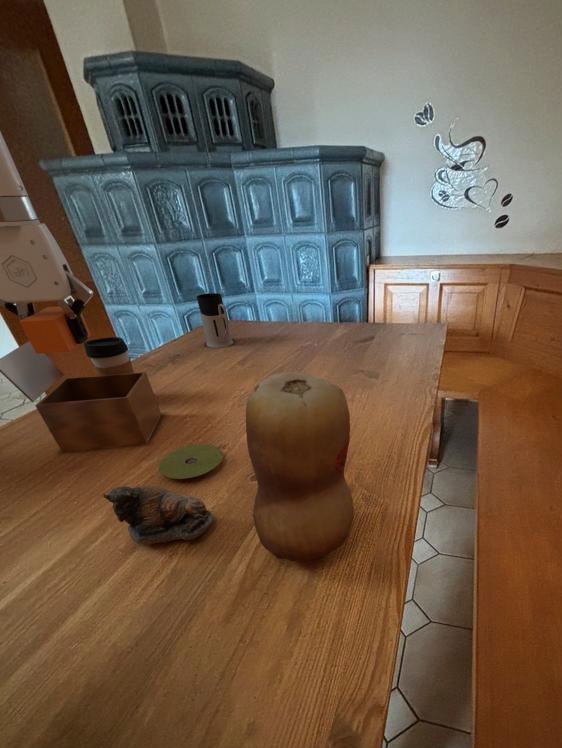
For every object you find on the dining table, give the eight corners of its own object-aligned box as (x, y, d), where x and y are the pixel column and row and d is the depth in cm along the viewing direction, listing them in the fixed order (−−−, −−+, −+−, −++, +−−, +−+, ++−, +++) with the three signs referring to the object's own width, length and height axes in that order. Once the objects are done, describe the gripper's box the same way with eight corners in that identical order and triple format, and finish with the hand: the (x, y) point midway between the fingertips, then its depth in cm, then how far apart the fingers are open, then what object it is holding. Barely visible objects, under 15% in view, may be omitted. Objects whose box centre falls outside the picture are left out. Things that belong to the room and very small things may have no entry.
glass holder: (226, 338, 135) (215, 291, 125) (246, 347, 126) (236, 298, 117) (202, 343, 130) (189, 295, 121) (221, 354, 122) (209, 303, 112)
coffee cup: (102, 403, 94) (74, 342, 85) (135, 391, 100) (111, 332, 91) (120, 412, 90) (93, 348, 81) (153, 399, 96) (131, 338, 87)
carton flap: (33, 401, 70) (32, 402, 70) (64, 374, 80) (62, 375, 80) (-7, 363, 65) (-9, 364, 65) (31, 339, 75) (29, 340, 75)
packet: (36, 353, 62) (19, 321, 59) (61, 336, 69) (47, 307, 66) (69, 351, 62) (54, 319, 59) (91, 335, 69) (78, 305, 66)
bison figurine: (215, 512, 62) (198, 461, 56) (216, 543, 57) (197, 490, 50) (134, 529, 59) (107, 477, 53) (127, 563, 54) (96, 510, 48)
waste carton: (62, 453, 77) (34, 405, 70) (87, 422, 87) (65, 377, 80) (147, 445, 79) (127, 397, 72) (161, 415, 89) (145, 372, 82)
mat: (227, 449, 77) (225, 440, 76) (221, 482, 68) (219, 474, 67) (169, 455, 76) (166, 446, 74) (155, 490, 67) (151, 481, 66)
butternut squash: (343, 587, 50) (333, 416, 35) (247, 573, 52) (197, 406, 37) (361, 515, 61) (360, 361, 46) (281, 506, 63) (254, 356, 48)
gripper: (-84, 215, 50) (-3, 353, 61) (56, 213, 52) (110, 346, 63) (-46, 212, 56) (22, 338, 67) (79, 210, 58) (124, 333, 69)
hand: (64, 341), depth 65 cm, fingers closed on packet, 5 cm apart
